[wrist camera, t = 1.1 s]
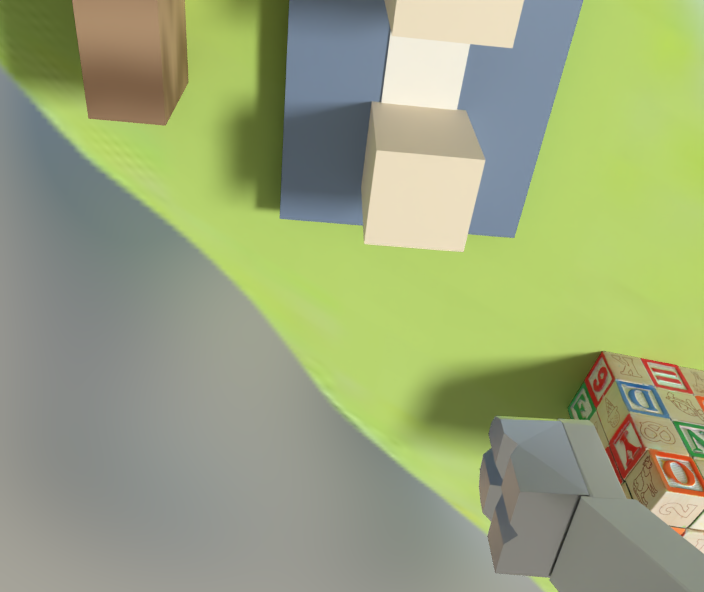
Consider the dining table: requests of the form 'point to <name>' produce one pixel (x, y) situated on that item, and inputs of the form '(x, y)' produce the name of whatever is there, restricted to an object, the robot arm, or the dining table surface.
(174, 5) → the walnut beam
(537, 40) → the board
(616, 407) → the stack of blocks
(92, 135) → the dining table surface
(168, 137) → the dining table surface
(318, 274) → the dining table surface
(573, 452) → the robot arm
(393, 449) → the dining table surface
